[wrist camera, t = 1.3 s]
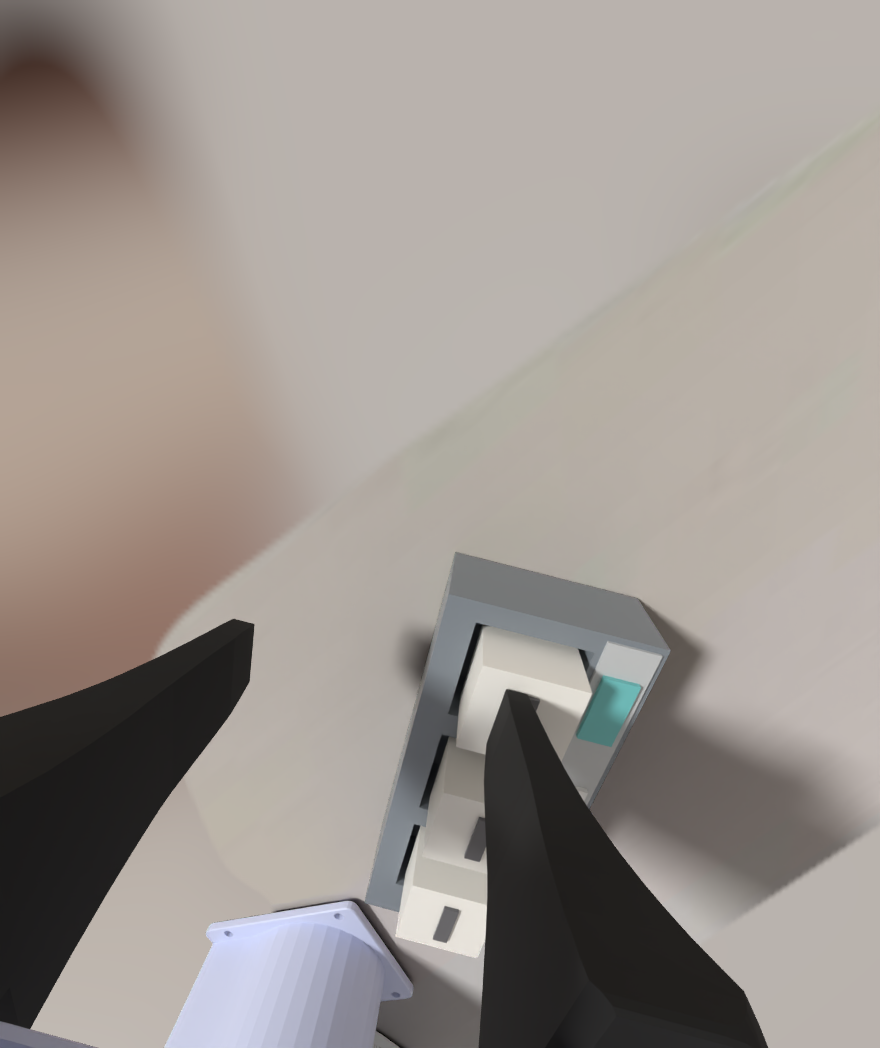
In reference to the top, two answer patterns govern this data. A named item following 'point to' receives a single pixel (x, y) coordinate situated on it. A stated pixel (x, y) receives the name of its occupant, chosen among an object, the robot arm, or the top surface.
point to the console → (469, 601)
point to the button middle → (457, 811)
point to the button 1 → (442, 904)
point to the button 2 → (522, 686)
